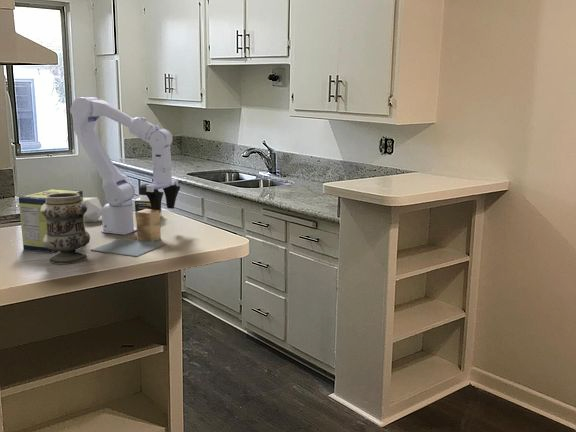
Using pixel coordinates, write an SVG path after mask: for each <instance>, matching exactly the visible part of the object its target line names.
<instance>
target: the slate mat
mask: <svg viewBox="0 0 576 432" xmlns="http://www.w3.org/2000/svg"><path fill="white" fill-rule="evenodd" d="M166 245H167V244H166V243H163V242H156V241H154V242H148V241H140V240H138V239H131V238H123V237H122V238H118V239H116V240H113V241H111V242H108V243H105V244H102V245H100V246H96V247H94V248H91V249H90V251H91V252H99V253H103V254H104V253H106V254H113V255H120V256H126V257H127V256H128V257H134V258H135V257H136V258H138V257H140V256H142V255H145V254H147V253H149V252H151V251H153V250H156V249H159V248H160V247H163V246H166Z"/></svg>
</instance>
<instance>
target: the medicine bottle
mask: <svg viewBox="0 0 576 432" xmlns="http://www.w3.org/2000/svg"><path fill="white" fill-rule="evenodd" d="M149 184H150V183H143V184H141V185H139V186H138V198H136V199H135V200H134V208H135V209H134V212H135V213H134V214H135V215H136V212H138V211H141V210H144V209H152V206H151V203H150V201H149V199H148V197H147V195H146V194H145V191H147V185H149ZM152 210H153V209H152ZM162 216H163V213H162V208H161V212H160V218H161V217H162Z"/></svg>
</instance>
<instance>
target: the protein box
mask: <svg viewBox="0 0 576 432" xmlns="http://www.w3.org/2000/svg"><path fill="white" fill-rule="evenodd" d="M69 192H70V193H78V194H79V195H80V198H81V201H83V198H84V196H83V190H75V189H74V190H73V189H63V188H52V189H49V190H45V191H41V192H37V193H32V194H28V195H23V196H19V197H18V207H19V217H20V225H21V236H22V237H21V238H22V246H23V247H22V249H23V250H24V251H32V252H33V251H34V252H43V253H55V252H56V251H54V250H51V249H48V248H47V247H46V246H45V245H44V244H43V237H44V236H45V235H46V234H47V222H46V217H45V216H43V215H42V214H41V207H42V205H43V204H45V203H46V196H47V195H49V194H54V193H69ZM83 220H84V214H83ZM85 223H86V222H85V220H84V228H85V229H86V224H85Z"/></svg>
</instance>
